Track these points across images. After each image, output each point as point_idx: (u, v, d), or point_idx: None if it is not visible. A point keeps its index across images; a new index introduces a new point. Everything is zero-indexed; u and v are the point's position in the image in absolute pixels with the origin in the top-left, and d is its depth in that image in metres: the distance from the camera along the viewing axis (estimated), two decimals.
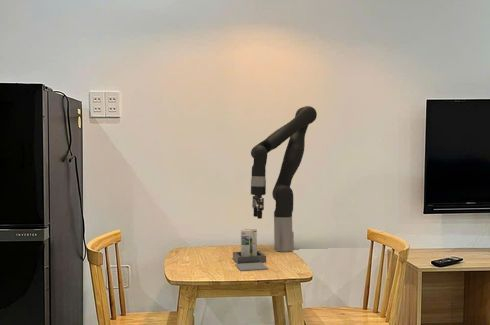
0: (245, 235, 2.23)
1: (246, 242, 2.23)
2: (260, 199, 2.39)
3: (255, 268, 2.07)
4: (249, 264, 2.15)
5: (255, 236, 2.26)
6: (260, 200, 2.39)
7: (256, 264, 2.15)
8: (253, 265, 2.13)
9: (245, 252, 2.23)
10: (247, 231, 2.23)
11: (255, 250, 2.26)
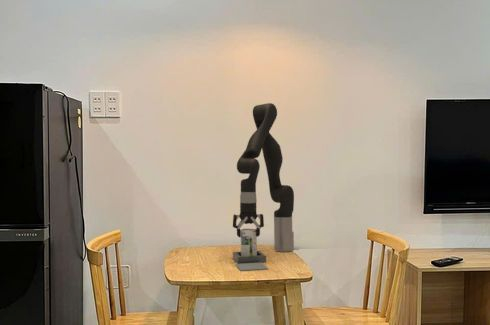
0: (245, 235, 2.23)
1: (246, 242, 2.23)
2: None
3: (255, 268, 2.07)
4: (249, 264, 2.15)
5: (255, 235, 2.26)
6: None
7: (256, 264, 2.15)
8: (253, 265, 2.13)
9: (245, 252, 2.23)
10: (247, 231, 2.23)
11: (255, 250, 2.26)
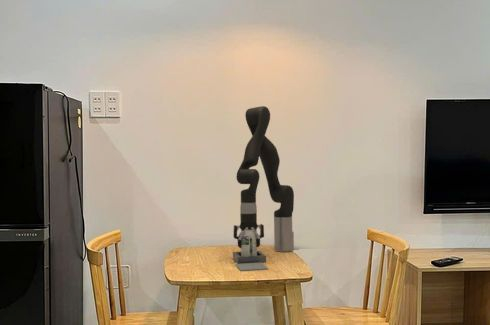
0: (245, 235, 2.23)
1: (246, 242, 2.23)
2: None
3: (255, 268, 2.07)
4: (249, 264, 2.15)
5: (255, 236, 2.26)
6: None
7: (256, 264, 2.15)
8: (253, 265, 2.13)
9: (245, 252, 2.23)
10: (247, 231, 2.23)
11: (255, 250, 2.26)
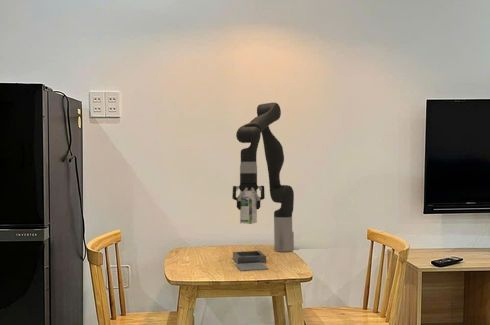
0: (245, 195, 2.12)
1: (245, 203, 2.12)
2: None
3: (255, 268, 2.07)
4: (249, 264, 2.15)
5: None
6: None
7: (256, 264, 2.15)
8: (253, 265, 2.13)
9: (245, 214, 2.12)
10: (247, 191, 2.12)
11: (255, 212, 2.14)
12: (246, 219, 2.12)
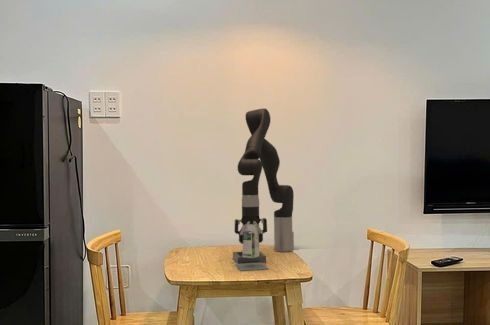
0: (247, 229, 2.09)
1: (248, 237, 2.09)
2: None
3: (255, 268, 2.07)
4: (249, 264, 2.15)
5: None
6: None
7: (256, 264, 2.15)
8: (253, 265, 2.13)
9: (247, 248, 2.09)
10: (249, 225, 2.09)
11: (258, 245, 2.11)
12: (248, 253, 2.09)
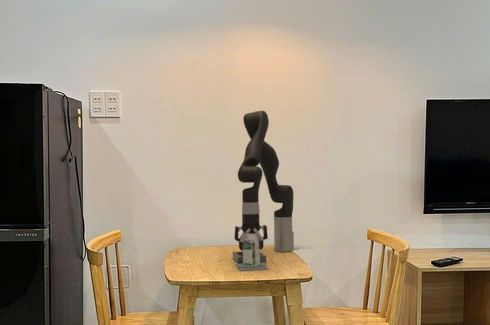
0: (247, 239, 2.09)
1: (248, 247, 2.09)
2: None
3: (255, 268, 2.07)
4: None
5: (258, 240, 2.12)
6: None
7: None
8: None
9: (248, 258, 2.09)
10: (249, 235, 2.09)
11: (258, 255, 2.12)
12: (249, 262, 2.09)
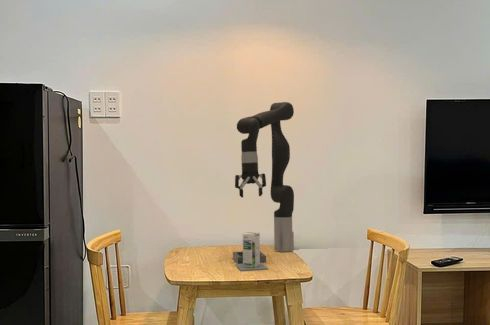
0: (247, 239, 2.09)
1: (248, 247, 2.09)
2: None
3: (255, 268, 2.07)
4: None
5: (258, 240, 2.12)
6: None
7: None
8: None
9: (248, 258, 2.09)
10: (249, 235, 2.09)
11: (258, 255, 2.12)
12: (249, 262, 2.09)
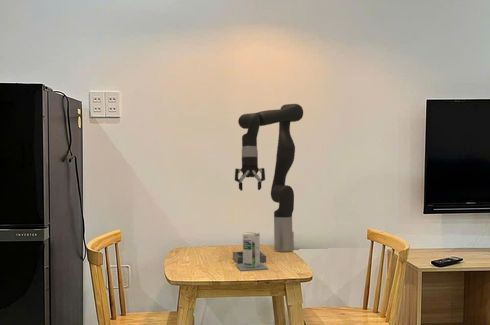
0: (247, 239, 2.09)
1: (248, 247, 2.09)
2: None
3: (255, 268, 2.07)
4: None
5: (258, 240, 2.12)
6: None
7: None
8: None
9: (248, 258, 2.09)
10: (249, 235, 2.09)
11: (258, 255, 2.12)
12: (249, 262, 2.09)
